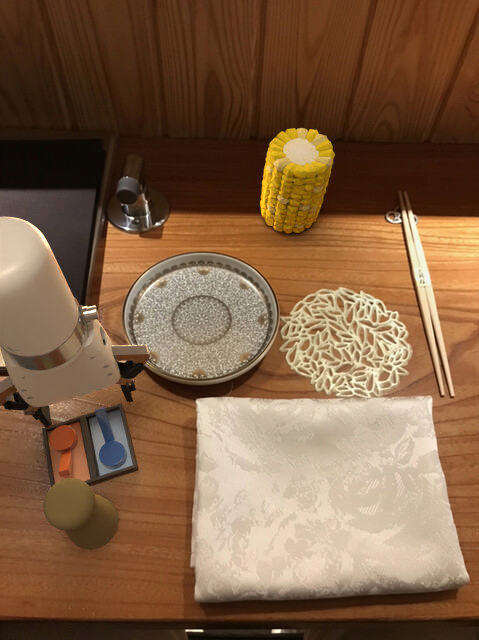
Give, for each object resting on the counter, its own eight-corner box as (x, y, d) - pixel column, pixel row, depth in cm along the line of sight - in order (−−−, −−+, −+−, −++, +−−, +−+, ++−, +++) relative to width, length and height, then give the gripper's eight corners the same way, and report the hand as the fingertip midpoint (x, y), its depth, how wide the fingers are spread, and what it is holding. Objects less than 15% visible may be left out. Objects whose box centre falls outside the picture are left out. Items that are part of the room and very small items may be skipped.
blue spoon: (93, 420, 72) (85, 410, 69) (117, 412, 73) (111, 402, 70) (104, 472, 69) (96, 464, 66) (129, 464, 69) (123, 455, 66)
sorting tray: (54, 497, 68) (51, 495, 67) (44, 431, 72) (41, 428, 71) (138, 469, 69) (136, 466, 68) (123, 406, 74) (121, 403, 73)
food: (272, 193, 94) (328, 215, 92) (241, 231, 86) (300, 256, 84) (288, 107, 82) (352, 130, 80) (253, 143, 75) (323, 169, 73)
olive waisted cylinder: (111, 488, 68) (86, 461, 59) (124, 537, 65) (100, 517, 56) (62, 507, 67) (29, 483, 58) (73, 557, 64) (40, 541, 55)
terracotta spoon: (85, 478, 68) (77, 470, 65) (59, 487, 68) (50, 479, 65) (76, 425, 72) (67, 415, 69) (51, 433, 72) (41, 423, 68)
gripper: (126, 274, 55) (151, 356, 70) (-55, 322, 53) (10, 397, 67) (143, 337, 51) (166, 409, 66) (-51, 392, 49) (18, 455, 63)
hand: (88, 403), depth 67 cm, fingers open, 9 cm apart
